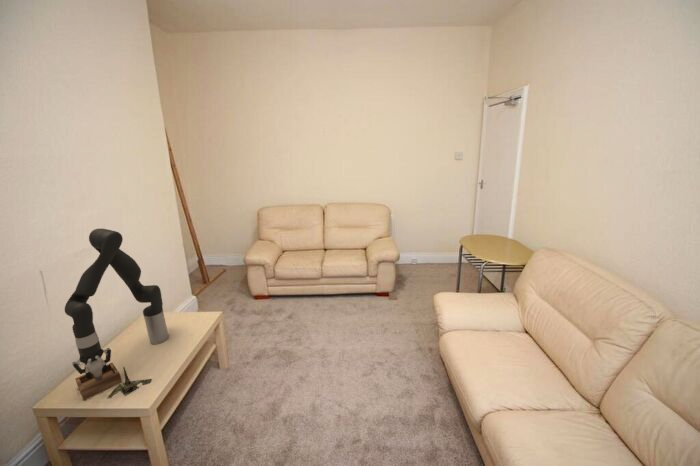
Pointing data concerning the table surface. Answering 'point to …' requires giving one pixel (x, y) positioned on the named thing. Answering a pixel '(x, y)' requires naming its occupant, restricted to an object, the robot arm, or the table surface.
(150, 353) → the table surface
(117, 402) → the table surface
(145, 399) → the table surface
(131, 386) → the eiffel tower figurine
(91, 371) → the lightbulb
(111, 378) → the wooden tray
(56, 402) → the table surface
